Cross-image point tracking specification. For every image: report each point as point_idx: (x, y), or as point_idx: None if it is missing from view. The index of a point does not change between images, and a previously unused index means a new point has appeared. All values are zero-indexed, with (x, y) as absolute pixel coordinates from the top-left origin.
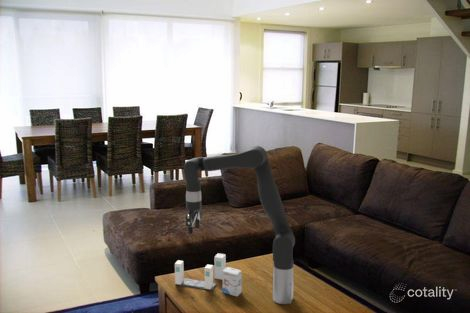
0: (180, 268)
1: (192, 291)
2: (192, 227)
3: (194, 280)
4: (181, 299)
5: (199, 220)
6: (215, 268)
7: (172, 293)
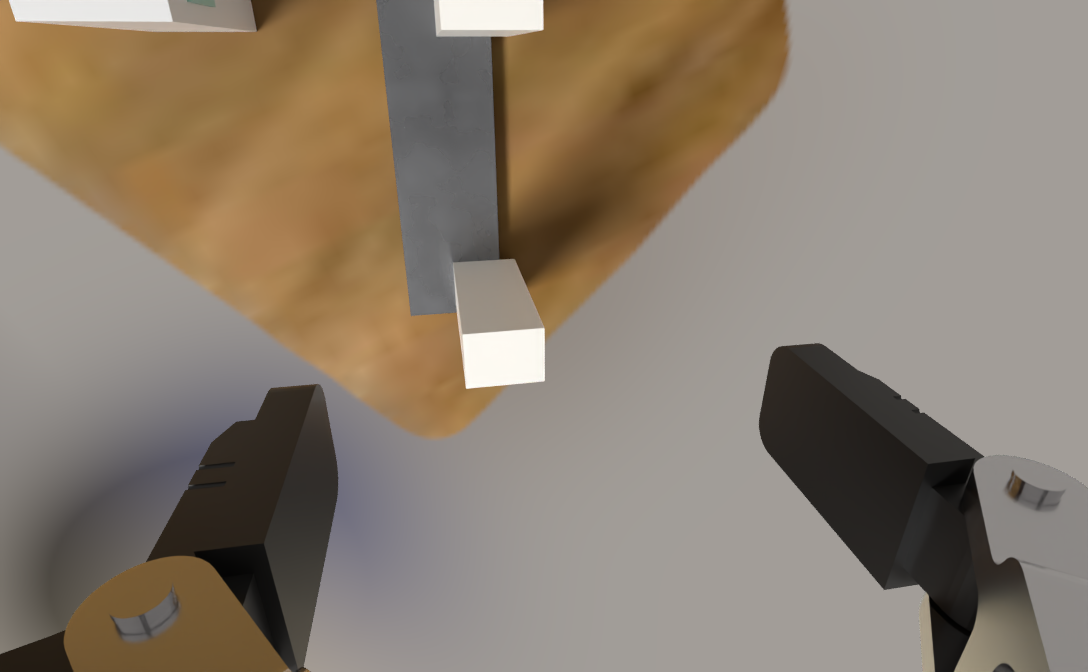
0: (533, 309)
1: (554, 133)
2: (952, 446)
3: (409, 186)
4: (685, 161)
5: (221, 574)
6: (221, 13)
7: (622, 259)
